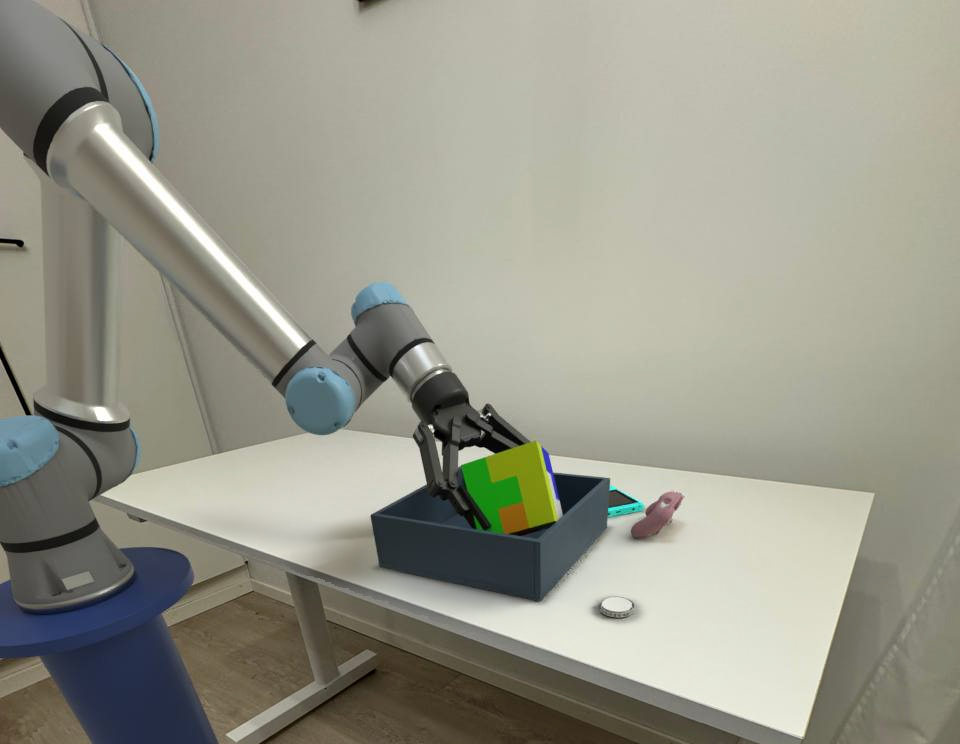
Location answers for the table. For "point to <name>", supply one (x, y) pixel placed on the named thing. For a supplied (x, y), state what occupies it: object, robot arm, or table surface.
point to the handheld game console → (622, 503)
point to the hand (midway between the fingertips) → (518, 516)
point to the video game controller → (657, 515)
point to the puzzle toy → (515, 490)
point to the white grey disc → (616, 607)
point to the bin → (491, 540)
